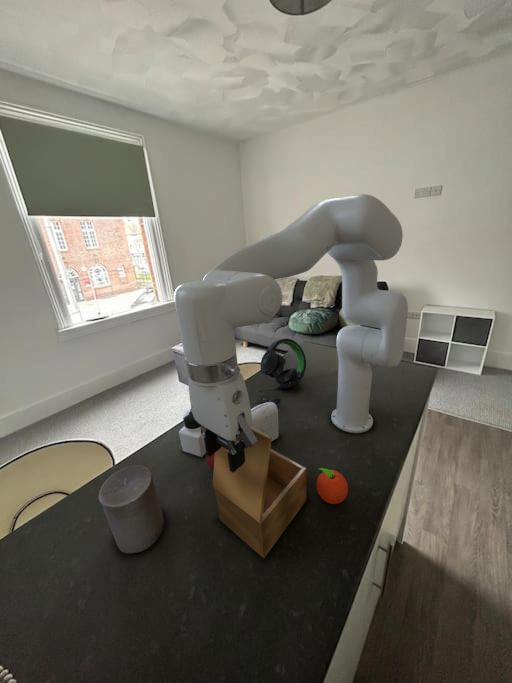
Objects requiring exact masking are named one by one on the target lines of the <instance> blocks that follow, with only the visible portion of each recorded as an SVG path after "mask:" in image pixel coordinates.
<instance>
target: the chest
mask: <svg viewBox="0 0 512 683" xmlns="http://www.w3.org/2000/svg"><path fill="white" fill-rule="evenodd" d="M213 488H214V487H213ZM213 490H214V494H215V500H216V507H217V513H218V520H219V521H220V522H221V523H223V524H224V525H225V526H226V527H227V528H228V529H229V530H230V531H232V532H233V533H234V534H235V535H236V536H237V537H238V538H240V539H241V540H242V541H243V542H244V543H245V544H247V546H249V547H250V548H251V549H252V550H253V551H255V552H256V553H257V554H258V555H259V556H260V557H261V558H262V559H265V558H267V555H268V554H269V553H270V551H271V550H272V549H273V547H274V546H275V544H276V543H277V542H278V540H279V539H280V538H281V536H282V535H283V534H284V532H285V531H286V529H287V528H288V527H289V525H290V524H291V522H292V521H293V519H295V517H296V515H297V514H298V513H299V511H300V510H301V509H302V508H303V507H304V505H305V503H306V502H307V467H305V466H304V465H301V464H300V463H298V462H297V461H294V460H292V459H290V458H288V457H287V456H285V455H283V454H282V453H280V452H278V451H276V450H274V449H272V448H270V457H269V466H268V474H267V483H266V491H265V500H264V509H263V517H262V521H261V522H260V523H259V522H258V521H256V520H255V519H254V518H252V517H251V516H250V515H249V514H247V513H246V512H245V511H243V510H242V509H241V508H240V507H238V506H237V505H236V504H235V503H233V502H232V501H231V500H229V499H228V498H227V497H226V496H224V495H223V494H222V493H220V492H219V491H218V490H217V489H215V488H214V489H213Z"/></svg>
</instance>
